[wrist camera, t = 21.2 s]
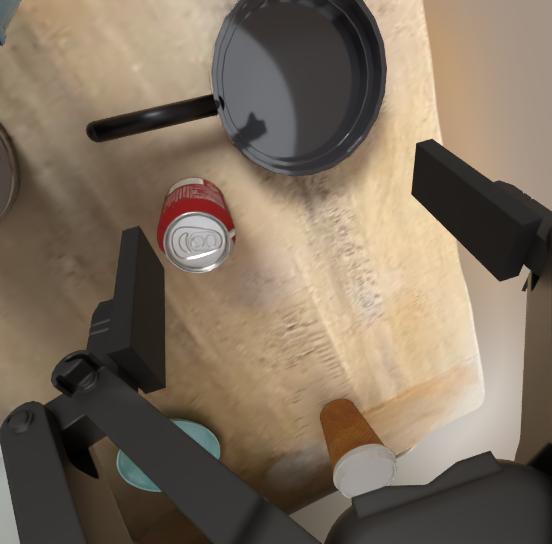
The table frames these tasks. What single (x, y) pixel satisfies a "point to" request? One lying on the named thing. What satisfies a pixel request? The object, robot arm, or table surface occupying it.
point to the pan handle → (153, 118)
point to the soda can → (195, 226)
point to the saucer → (190, 427)
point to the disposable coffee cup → (355, 450)
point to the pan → (298, 81)
